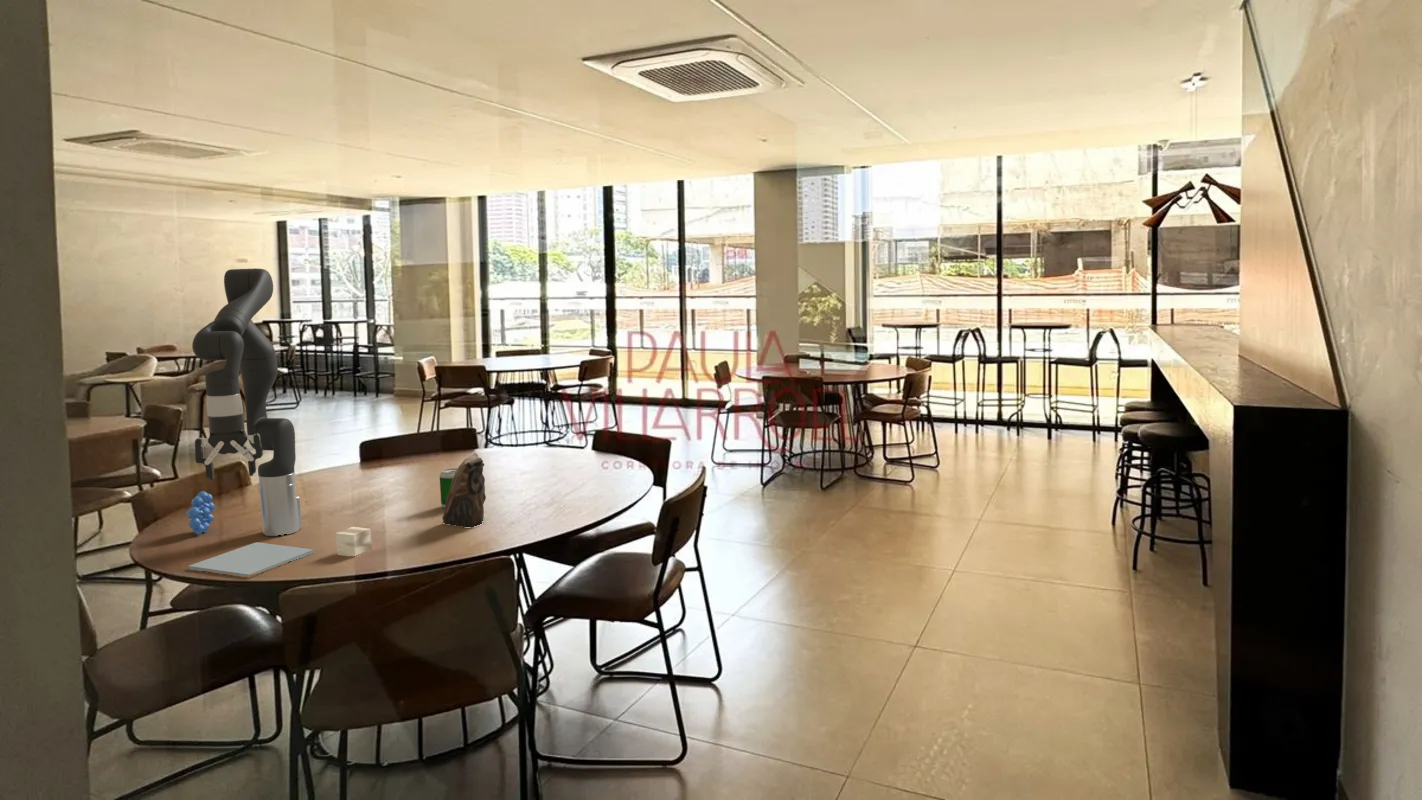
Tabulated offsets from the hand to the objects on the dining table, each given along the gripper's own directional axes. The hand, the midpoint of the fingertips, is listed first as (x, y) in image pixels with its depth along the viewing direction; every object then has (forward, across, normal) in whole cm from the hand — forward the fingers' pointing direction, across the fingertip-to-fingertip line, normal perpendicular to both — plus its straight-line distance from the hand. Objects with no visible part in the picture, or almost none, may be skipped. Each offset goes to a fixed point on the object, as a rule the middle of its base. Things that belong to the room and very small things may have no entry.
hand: (231, 477), depth 204 cm
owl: (+24, -56, -19) cm, 64 cm away
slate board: (+24, -2, -5) cm, 24 cm away
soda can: (+24, -55, -38) cm, 71 cm away
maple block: (+24, -26, -2) cm, 36 cm away
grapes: (+24, +15, -40) cm, 49 cm away
